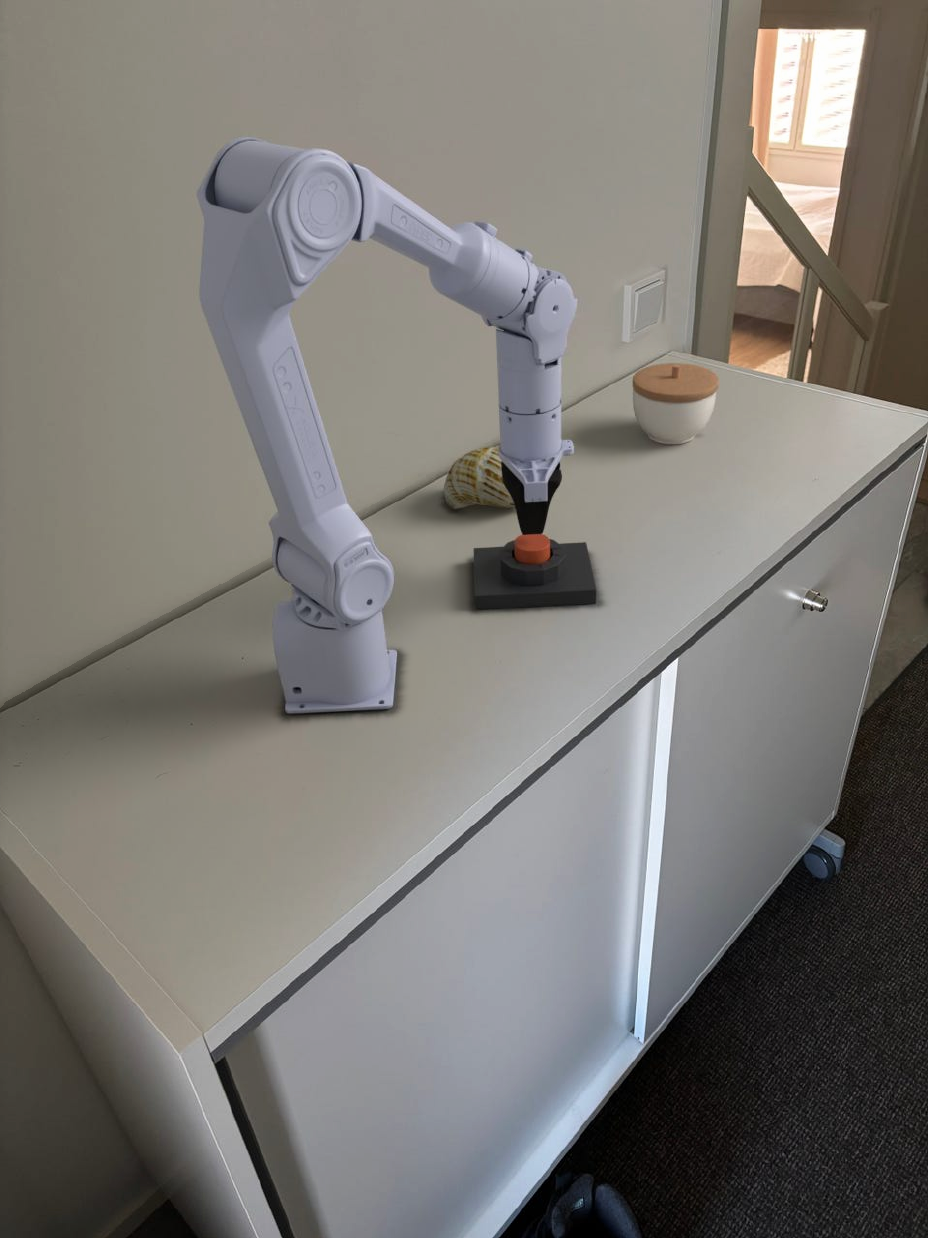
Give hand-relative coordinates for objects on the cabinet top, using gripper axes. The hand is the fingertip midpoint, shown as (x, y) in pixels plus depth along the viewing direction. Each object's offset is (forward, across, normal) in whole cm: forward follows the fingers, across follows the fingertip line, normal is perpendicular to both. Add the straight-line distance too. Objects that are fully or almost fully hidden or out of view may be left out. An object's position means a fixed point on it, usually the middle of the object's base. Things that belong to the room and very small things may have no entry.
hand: (532, 530), depth 92 cm
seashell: (+6, +18, +4) cm, 19 cm away
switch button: (+3, 0, 0) cm, 3 cm away
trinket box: (+6, +33, -20) cm, 39 cm away
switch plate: (+6, 0, 0) cm, 6 cm away
